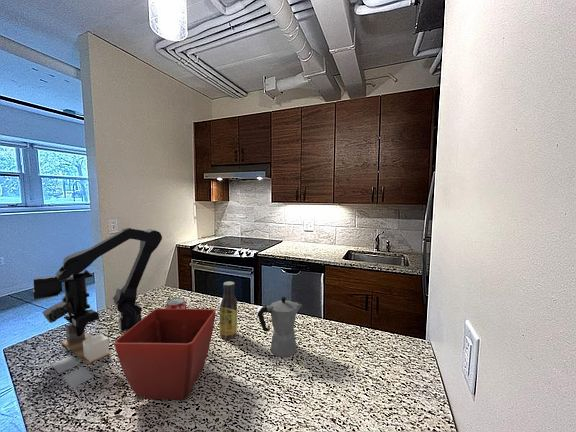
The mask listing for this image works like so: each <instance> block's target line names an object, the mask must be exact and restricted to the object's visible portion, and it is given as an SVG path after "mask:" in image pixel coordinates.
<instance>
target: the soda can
mask: <svg viewBox="0 0 576 432" xmlns="http://www.w3.org/2000/svg"><path fill="white" fill-rule="evenodd" d="M165 303H166V304H165V307H164V309H188V308H187V302H186V299H185V298H183V297H174V298H171V299H169V300H167V301H166V302H165Z"/></svg>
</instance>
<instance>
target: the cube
mask: <svg viewBox="0 0 576 432" xmlns="http://www.w3.org/2000/svg"><path fill="white" fill-rule="evenodd" d="M91 337H92V338H89V339H87V340H84V341H83V352H84V357H85V358H86V359H88V360H89V361H90V362H91V361H93V360H96V359H98V358H100V357H102V356H104V355H107V354H109V350H110V349H109V338H108V337H107V336H105V335H104V334H103V333H100V334H97V335H94V336H91ZM109 355H110V354H109ZM107 356H108V355H107ZM102 358H103V357H102ZM100 359H101V358H100ZM98 360H99V359H98ZM96 361H97V360H96ZM91 363H92V362H91Z"/></svg>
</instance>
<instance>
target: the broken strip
mask: <svg viewBox="0 0 576 432" xmlns="http://www.w3.org/2000/svg"><path fill="white" fill-rule="evenodd" d="M80 364H81V363H80V361H78V360H77V359H76V358H75V357H74V356H73V355H70V356H68V357H64V358H63V359H60V360H58V361H55V362H53V363H50V365H51V367H52V368H53V369H54V370H55V371H56V372H57V373H58V374H61V373H63V372H66V371H67V370H70V369H72V368H74V367H76V366H78V365H80ZM61 378H62V379H63V380H64V381H65V382H66V383H67V384H68V386H69V387H70V388H71V389H72V388H75V387H77V386H79V385H81V384H83V383H84V382H87V381H89V380H91V379H93V378H95V376H94V374H92V373H91V371H89V370H88V369H87V368H85V366H82V367H80V368H78V369H76V370H74V371H71V372H69V373H67V374H64V375H62V376H61Z"/></svg>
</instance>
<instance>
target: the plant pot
mask: <svg viewBox="0 0 576 432" xmlns="http://www.w3.org/2000/svg"><path fill="white" fill-rule="evenodd" d="M215 320H216V309H215V308H187V309H165V308H155V309H153V310H152V311H151V312H149V313H148V314H147V315H146V316H144V317H143V318H141V321H140V322H138V323H137V324H136V325H134V326H133V327H132V328H131V329H127V331H125V333H123V334H122V335H121V336H119V337H118V338H116V340H114V341H113V342H114V347H115V353H116V355H117V359H118V362H119V364H120V366H121V369H122V372H123V374H124V377H125V378H126V380H127V382H128V384H129V386H130V388H131V389H132V391H133V392H134V395H135V396H136V397H138V398H142V399H143V400H169V401H170V400H172V401H177V400H178V401H179V400H181V401H182V400H183V401H184V400H185V399H187V398H188V397H189V395H190V394H191V392H192V390H193V388H194V386H195V385H196V382H197V381H198V379H199V377H200V375H201V373H202V371H203V370H204V368H205V364H206V361H207V357H208V354H209V351H210V350H209V349H210V345H211V341H212V338H213V331H214V325H215Z"/></svg>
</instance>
